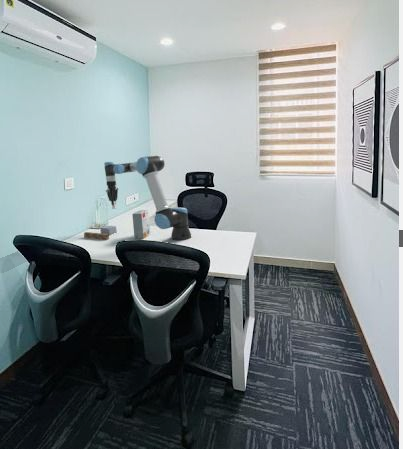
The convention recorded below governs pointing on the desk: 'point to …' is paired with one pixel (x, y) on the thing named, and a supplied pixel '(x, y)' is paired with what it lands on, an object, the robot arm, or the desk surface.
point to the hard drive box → (141, 224)
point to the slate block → (108, 230)
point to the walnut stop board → (96, 235)
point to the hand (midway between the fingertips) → (114, 208)
